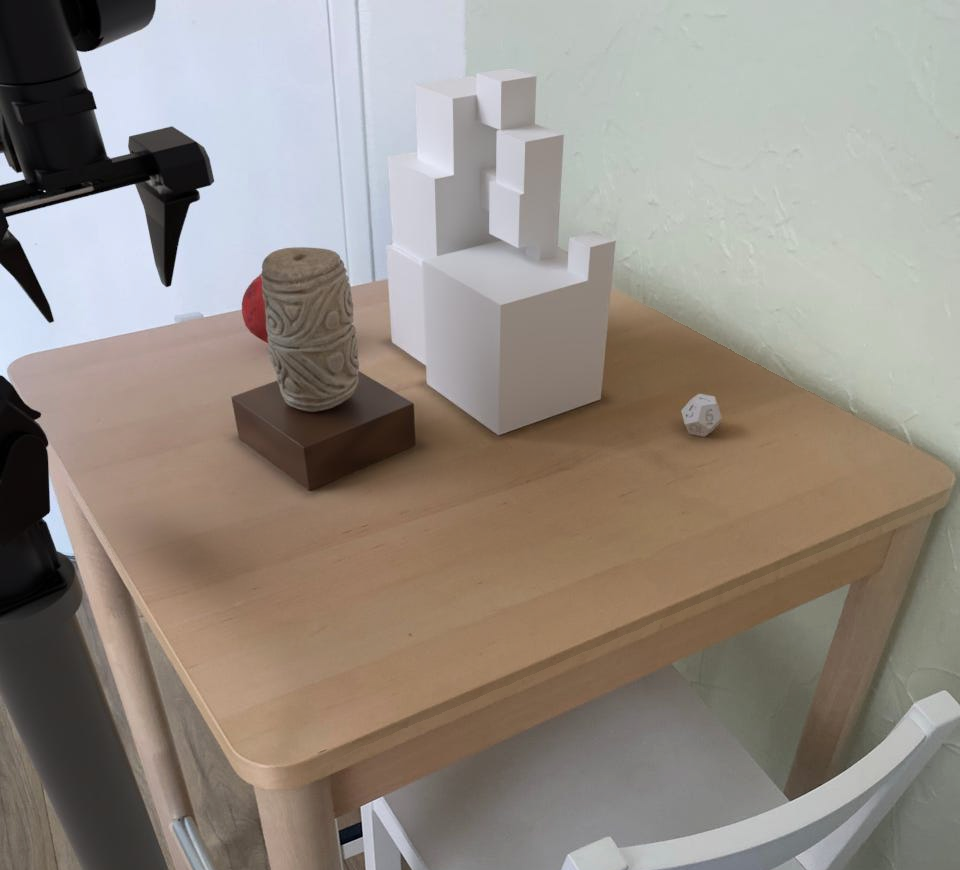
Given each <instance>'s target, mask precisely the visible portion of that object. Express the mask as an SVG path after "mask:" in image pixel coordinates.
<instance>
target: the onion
mask: <svg viewBox="0 0 960 870" xmlns="http://www.w3.org/2000/svg"><path fill="white" fill-rule="evenodd" d="M262 283H263V282H262V280H261V273H260V274H259V275H258V276H257V277H255V278H254V279H253V280H252V281H251V283H250V284H249V285H248V287H247V288H246V289H245V291H244V293H243V295H242V300H241V315H242V320H243V322H244V325H245V327H246V328H247V330H248V331H249V332H250V333H251V334H252V335H254V336H255V337H256V338H258V339H259V340H261V341H263V342H264V343H267V344H269V343H268V333H267V330H266V313H265V301H264V299H263V294H262V292H263V289H262Z"/></svg>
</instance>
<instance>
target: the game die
mask: <svg viewBox="0 0 960 870" xmlns="http://www.w3.org/2000/svg"><path fill="white" fill-rule="evenodd" d="M680 412H681V415H682V419H683V422H684V425H685V429H686V430H687V432H688V434H689V435H692V436H698V437H703V438H705V437H707V436H708V435H710V433H712V432H713V431H714V430H715V429H716V428H717V427H718V425H720V423H722V421H723V417H722V413H721V409H720V407H719V403H718V401H717V399H716V397H715V396H714V395H710V394H709V395H708V394H704V393H698V394H697V395H695V396H694V397H692V398H691V399H690V400H689V401H688V402H687V403H686V404H685V406H684V407H683V408H682V409H681V410H680Z"/></svg>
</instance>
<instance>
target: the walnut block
mask: <svg viewBox="0 0 960 870" xmlns="http://www.w3.org/2000/svg"><path fill="white" fill-rule="evenodd" d="M231 403H232V408H233V413H234V420H235V424H236V429H237V435H238V439H239V440H240V441H242V442H243V443H244V444H246V445H247V446H248V447H250V448H251V449H252V450H254V451H255V452H256V453H258V454H259V455H260V456H262V457H263V458H265V459H266V460H267V461H269V462H270V463H271V464H273V465H274V466H275V467H277V468H278V469H280V470H281V471H282V472H283V473H285V474H286V475H288V477H290V478H292V479H293V480H294V481H296V482H297V483H298V484H300V485H301V486H302V487H304V488H305V489H306V490H308V491H313V490H314V489H317V488H319V487H321V486H324V485H326V484H329V483H331V482H333V481H335V480H337V479H341V478H343V477H345V476H347V475H349V474H351V473H354V472H357V471H358V470H361V469H363V468H365V467H368V466H370V465H372V464H374V463H377V462H380V461H381V460H384V459H387V458H389V457H391V456H393V455H395V454H398V453H400V452H403V451H405V450H407V449H409V448H412V447H414V446H416V444H417V443H416V441H417V440H416V423H415V421H416V420H415V403H414V402H412V401H410V400H409V399H407V398H405V397H404V396H402V395H400V393H397V392H396V391H394V390H392V389H390V388H389V387H387V386H385V385H384V384H382V383H380V382H379V381H377V380H375V379H373V378H371V377H370V376H368V375H367V374H366V373H365V374H364V372H361V371H360V370H359V372H358V384H357V387H356V389H355V390H354V393H353V395H352V396H351V397H350V398H348V399H347V400H345V401H344V402H342V403H341V404H339V405H337V406H336V407H333V408H331V409H328V410H323V411H318V412H307V411H302V410H299V409H296V408H293V407H290V406H289V405H288V404H287V403H286V402H285V400H284V398H283V396H282V394H281V391H280V386H279V383H278V382H277V380H274V381H272V382H269V383H267V384H264V385H261V386H258V387H255V388H252V389H249V390H247V391H244V392H240V393H239V394H236V395H233V396H231Z"/></svg>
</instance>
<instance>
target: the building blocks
mask: <svg viewBox="0 0 960 870" xmlns="http://www.w3.org/2000/svg"><path fill="white" fill-rule="evenodd" d="M414 94H415V95H414V97H415V98H414V100H415V120H416V121H415V122H416V123H415V124H416V151H412V152H406V153H399V154H395V155H390V156H387V169H388V184H389V202H390V203H389V205H390V218H391V222H390V223H391V238H392V239H391V240H392V243H389V244H385V254H386V267H387V268H386V269H387V284H388V287H387V288H388V299H389V300H388V302H389V317H390V318H389V319H390V333H391V343H392V344H393V345H395V346H396V347H398V348H400V349H401V350H402V351H404V352H405V353H406V354H408V355H409V356H411V357H412V358H414V359H415V360H417V361H418V362H419V363H421V364H423V365H424V366H425V369H426V371H425V372H426V373H425V374H426V385H428V386H429V387H430V388H431V389H434V391H436V392H437V393H439V394H440V395H442V396H443V397H444V398H446V399H447V400H448V401H450V402H451V403H453V404H454V405H455V406H456V407H458V408H459V409H461V410H462V411H464V412H465V413H466V414H468V415H469V416H470V417H472V418H473V419H475V420H476V421H477V422H478V423H480V424H481V425H483V426H485V427H486V428H487V429H488V430H490V431H491V432H493V434H496V435H497V436H500V435H504V434H506V433H509V432H512V431H514V430H518V429H520V428H523V427H526V426H529V425H532V424H534V423H537V422H541V421H543V420H546V419H548V418H552V417H555V416H557V415H560V414H563V413H566V412H569V411H571V410H574V409H577V408H580V407H583V406H586V405H589V404H592V403H594V402H597V401H599V400H601V399H602V387H603V378H604V368H605V367H604V366H605V358H606V347H607V336H608V326H609V317H610V316H609V315H610V306H611V305H610V304H611V294H612V285H613V284H612V283H613V274H614V273H613V272H614V264H615V263H614V262H615V251H616V242H617V241H616V240H615V239H613V238H611V237H609V236H607V235H604V234H602V233H600V232H598V231H596V230H594V231H590V232H585V233H581V234H578V235H573V236H570V237H569V238H568V250H565V249H564V248H561V247H559V246H558V245H559V244H558V243H559V230H560V229H559V228H560V212H561V210H560V209H561V191H562V175H563V157H564V156H563V155H564V142H565V141H564V137H565V134H564V133H561V132H558V131H556V130H553V129H551V128H548V127H545V126H542V125H539V124H536V103H537V102H536V99H537V75H535V74H531V73H529V72H526V71H522V70H518V69H515V68H512V67H510V68H502V69H501V68H500V69H495V70H489V71H482V72H476V73H475V76H474V75H468V76H462V77H456V78H449V79H443V80H436V81H431V82H423V83H415V84H414Z"/></svg>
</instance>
